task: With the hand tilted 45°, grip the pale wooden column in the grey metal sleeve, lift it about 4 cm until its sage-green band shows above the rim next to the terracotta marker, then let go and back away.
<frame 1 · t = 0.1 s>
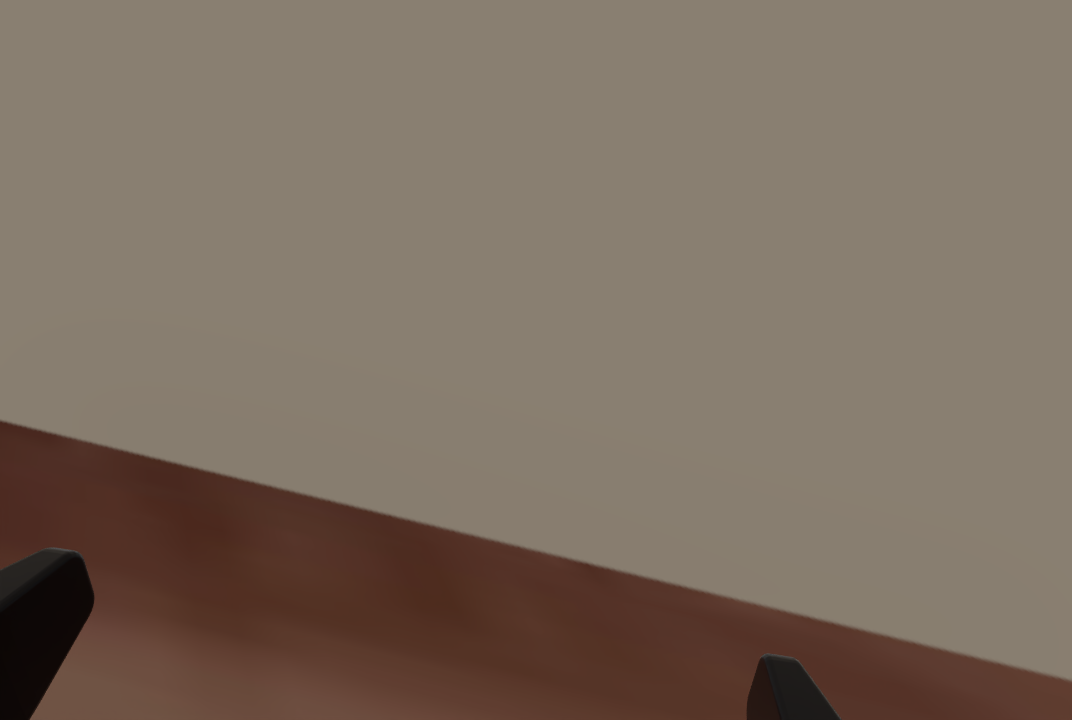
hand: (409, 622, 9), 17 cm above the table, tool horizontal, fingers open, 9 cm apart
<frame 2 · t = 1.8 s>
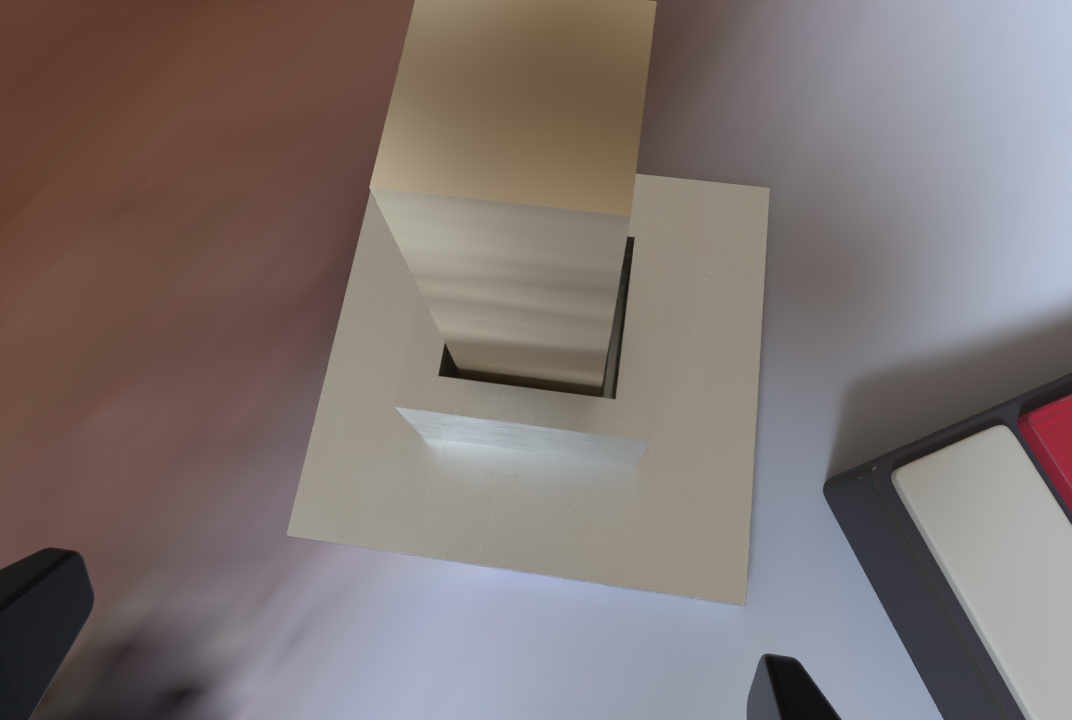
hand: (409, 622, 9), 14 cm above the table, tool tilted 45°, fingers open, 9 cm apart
column: (535, 265, 18), point 8 cm above the table, slide at 0.0 cm
sleeve stand: (544, 359, 25), on the table
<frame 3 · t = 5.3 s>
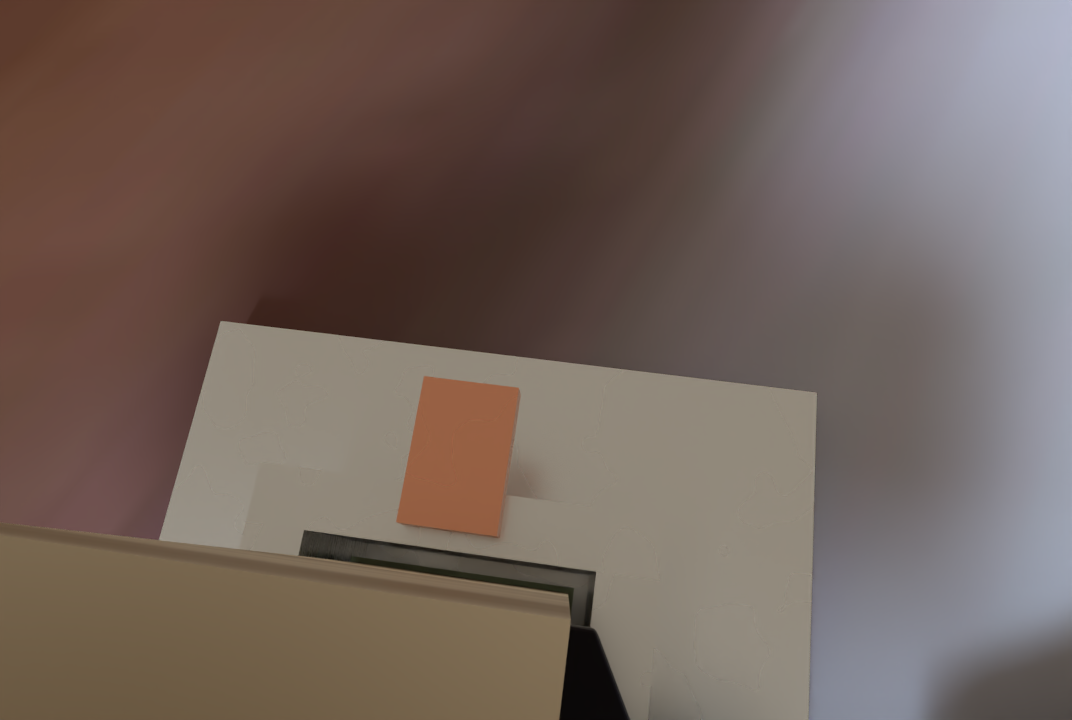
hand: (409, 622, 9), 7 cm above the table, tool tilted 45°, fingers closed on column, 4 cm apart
sleeve stand: (464, 674, 16), on the table
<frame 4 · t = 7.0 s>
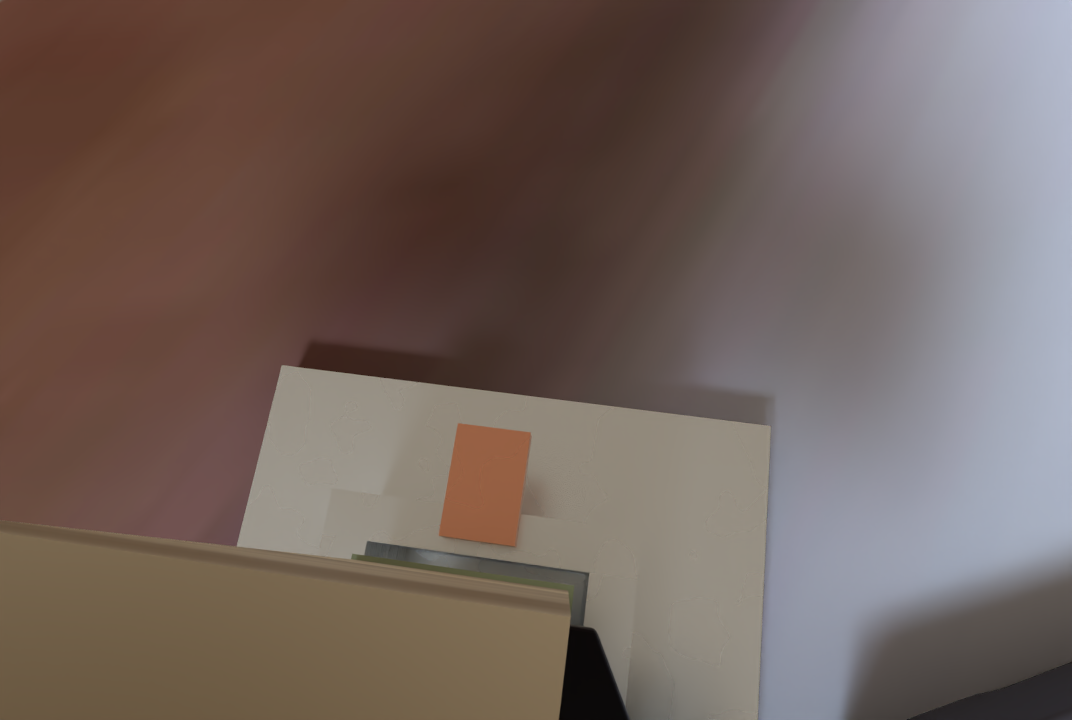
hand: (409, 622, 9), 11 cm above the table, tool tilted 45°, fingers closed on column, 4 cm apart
sleeve stand: (484, 654, 19), on the table
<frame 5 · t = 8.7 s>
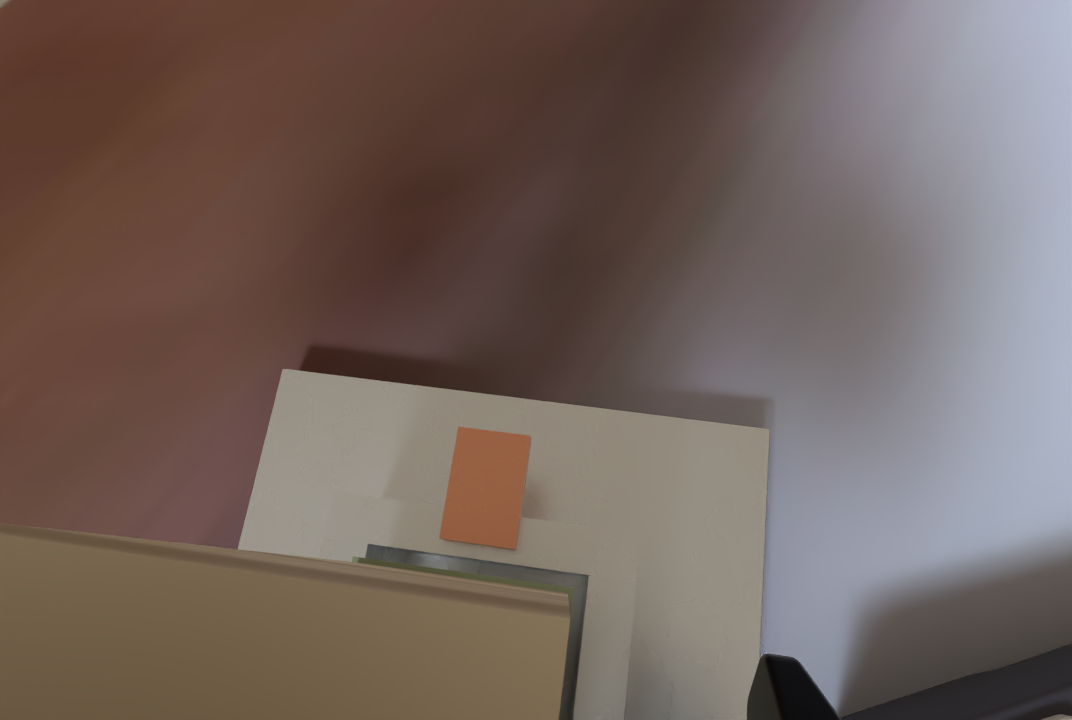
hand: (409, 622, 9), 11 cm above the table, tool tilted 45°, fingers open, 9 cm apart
sleeve stand: (484, 657, 20), on the table
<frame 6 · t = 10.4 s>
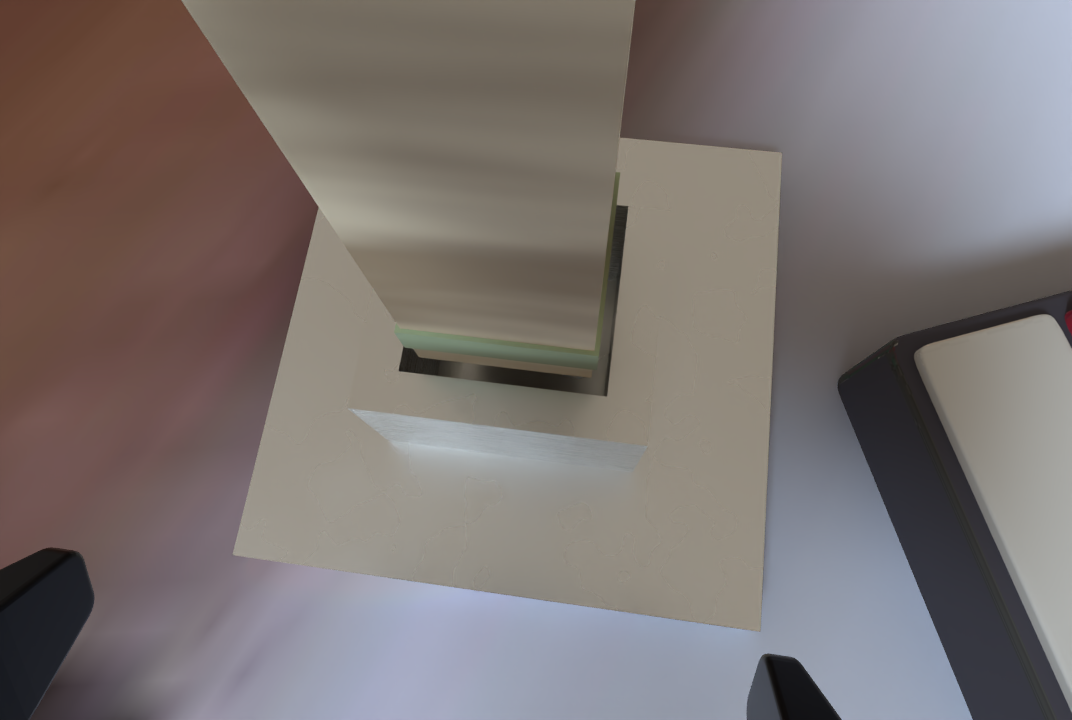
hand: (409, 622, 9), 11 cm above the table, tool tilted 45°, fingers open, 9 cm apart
column: (488, 122, 11), point 11 cm above the table, slide at 3.9 cm
sleeve stand: (527, 350, 22), on the table
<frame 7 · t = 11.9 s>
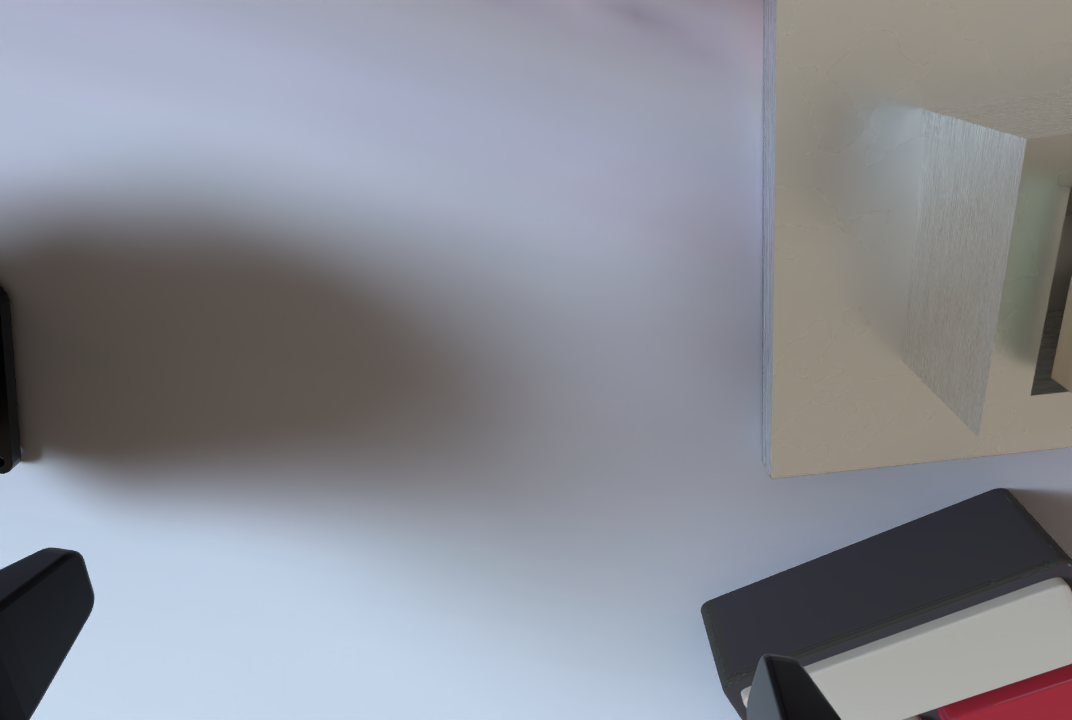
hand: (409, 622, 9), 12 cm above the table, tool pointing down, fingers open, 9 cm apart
calculator: (901, 669, 28), on the table
sleeve stand: (1025, 218, 20), on the table
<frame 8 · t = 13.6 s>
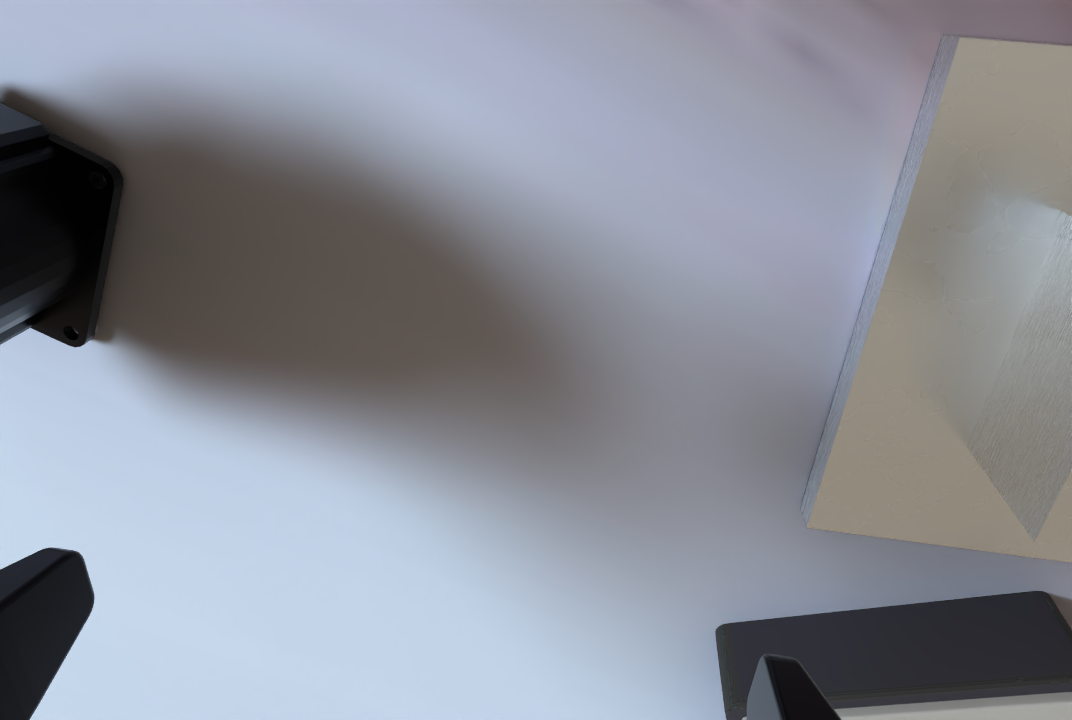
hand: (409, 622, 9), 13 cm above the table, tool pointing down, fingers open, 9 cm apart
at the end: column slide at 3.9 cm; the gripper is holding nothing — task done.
